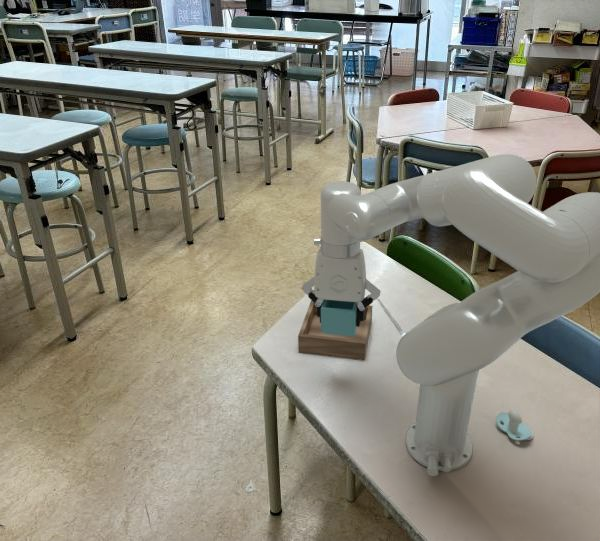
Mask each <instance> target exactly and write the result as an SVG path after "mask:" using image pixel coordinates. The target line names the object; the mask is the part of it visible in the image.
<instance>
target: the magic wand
mask: <svg viewBox="0 0 600 541" xmlns="http://www.w3.org/2000/svg"><path fill="white" fill-rule="evenodd" d="M378 298H379V297H378ZM378 298H377V299H378ZM377 299H376V300H377ZM378 301H379V302H380V303H379V302H378ZM377 302H378V303H379V305H380V304H381V305H380V306H381V308H383V311H384V312H385V313H386V315H387V316H388V317H389V318H390V321H391V322H392V321H393V324H394V326H395V327H396V329H397V330H398V331H399V334H400V335H401V338H402V337H403V336H404V335H405V334H406V333H407V332H406V330H404V329H403V328H402V327H401V326H400V325H399V324H398V322H397V321H396V319H395V318H394V317H393V316H392V315H391V313H390V312H389V309H388V308H387V307H386V306H385V305H384V304H383V303H382V301H381V300H380V298H379V299H378V300H377Z"/></svg>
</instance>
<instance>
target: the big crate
mask: <svg viewBox="0 0 600 541" xmlns="http://www.w3.org/2000/svg"><path fill="white" fill-rule="evenodd" d="M373 308H374V306H373V305H369V306H367V307H366V308H365V309H364V321H361V322H360V326H359V327H357V329H356V334H355V337H354V336H344V335H334V334H324V333H321V323H320V317H317V306H315V303H314V302H313V301H312V300H311V299H310V303H309V305H308V307H307V311H306V313H305V316H304V319H303V321H302V324H301V326H300V329H299V332H298V336H297V340H298V344H297V345H298V347H297V348H298V353H299V354H308V355H317V356H324V357H333V358H340V359H350V360H357V361H366V355H367V350H368V344H369V339H370V333H371V328H372V323H373V322H372V321H373Z"/></svg>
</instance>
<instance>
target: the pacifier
mask: <svg viewBox="0 0 600 541" xmlns="http://www.w3.org/2000/svg"><path fill="white" fill-rule="evenodd" d="M495 422H496V425H497V427H498V428H499V429H500V430H501V431H503V432H504V433H506V434H507V436H508V438H510V439H511V440H513V441H518V442H519V441H531V440H533V439H534V436H535V435H534V432H533V430H532V429H531V427H530V426H529V425H528V424H527V423H525V421H523V419H522V417H521V415H520V414H519V413H518V411H517V410H515V409H514V408H511V409H510V410H509V411H508V412H504V411H503V412H499V413H497V415H496V418H495Z"/></svg>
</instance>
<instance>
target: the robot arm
mask: <svg viewBox="0 0 600 541" xmlns="http://www.w3.org/2000/svg"><path fill="white" fill-rule="evenodd" d="M537 184H538V183H537V176H536V172H535V169H534V168H533V166H532V164H530V162H529V161H527V160H526V158H523V157H521V156H519V155H516V154H510V153H509V154H508V153H507V154H506V153H505V154H497V155H492V156H489V157H486V158H485V157H484V158H481V159H478V160H474V161H470V162H467V163H464V164H463V163H462V164H460V165H456V166H453V167H449V168H445V169H442V170H441V169H440V170H438V171H434V172H433V171H432V172H430V173H426V174H424V175H419V176H415V177H412V178H407V179H405V180H404V179H403V180H401V181H397V182H394V183H390V184H388V185H384V186H383V187H380V188H377V189H375V190H373V191H369V192H368V193H365V194H362V191H361V188H360V187H359V185H357V184H356V183H353V182H350V181H344V180H343V181H333V182H329V183H327V184H325V185H324V186H323V187H322V188H321V190H320V225H321V226H320V229H321V230H320V234H321V235H320V237H317V238H314V241H313V245H314V246H318V247H319V249H318V251H317V253H316V257H315V258H316V259H315V267H314V276H313V277H310V279H308V280H307V281H305V282H304V283H302V285H301V289H302V291H303V292H304V294H305V295H307V296H308V298H309V299H310V301H311V300H312V301H313V302H314V303H315V306H317V317H320V323H321V307H322V304H323V301H324V300H334V301H345V302H355V303H356V305H357V306H358V307H357V314H356V326H357V327H359V326H360V322H361V321H364V309H365V308H366V307H367V306H371V304H372V303H374V301H377V298H379V297H380V296H381V292H382V291H381V289H379V288H378V287H377V286H376V285H375V284H373V283H372V282H371V281H369V280H368V278H367V270H366V261H365V260H366V259H365V255H364V251H363V249H362V248H361V241H368V240H369V241H370V240H371V239H373V238H375V237H378V236H379V235H381V234H383V233H385V232H386V231H387V232H388V231H389V230H391V229H393V228H396V227H397V226H399V225H401V224H404V223H407V222H410V221H414V220H419V219H424V220H425V221H426V222H428V223H429V224H430V225H432V226H435V227H446V226H451V225H452V226H453V227H455V228H456V229H457V230H458V231H459V232H461V233H462V234H463V235H465V236H466V237H467V238H469V239H470V240H471V241H473V242H475V243H476V244H477V245H479V246H480V247H482V248H483V249H485V250H486V251H488V252H490V253H491V254H492V255H494V256H495V257H497V258H498V259H500V260H501V261H503V262H504V263H506V264H508V265H509V266H510V267H511V268H513V269H515V270H516V271H515V272H513V273H512V274H509V275H507V276H506V277H504V278H502V279H500V280H498V281H496V282H493V283H491V284H489V285H486V286H484V287H482V288H480V289H478V290H476V291H474V292H473V293H471V294H470V295H469V296H467V297H465V298H464V299H462V300H461V301H460V302H455V303H451V304H447V305H446V306H443V307H442V308H440V309H438V310H437V311H435V312H434V313H432V314H431V315H429V316H428V317H427V318H425V319H424V320H423V321H421V322H420V323H418V324H416V325H415V326H414V327H413V328H412V329H411V328H410V330H409V331H407V332H405V333H406V334H405V335H404V336H403V337H402V336H401V337H400V339H399V341H398V344H397V347H396V353H395V357H396V364H397V365H398V368H399V369H400V371H401V373H402V374H403V375H404V377H406V378H407V379H408V380H409V381H411V382H413V383H415V384H416V385H419V389H418V391H419V392H418V400H417V408H416V419H415V422H414V423H412V424H411V425H410V426H409V428H408V429H407V431H406V435H405V446H406V450H407V451H408V453H409V455H411V457H412V458H413V459H414V460H415V461H417V462H418V464H421V465H422V466H423V467H426V468H427V470H426V472H427V475H429V476H431V477H437V476H438V475H439V471H441V472H446V473H450V472H451V471H456V470H458V469H461V468H463V467H464V466H465V465H467V464H468V462H469V461H470V460H471V458H472V454H473V448H474V447H473V446H474V445H473V442H472V439H471V437H470V436H469V434H468V429H469V424H470V418H471V412H472V407H473V402H474V395H475V392H476V385H477V382H478V377H479V376H478V375H479V372H480V370H482V369H484V368H485V367H487V366H489V365H491V364H493V363H494V362H495V361H496V360H498V359H499V358H500V357H502V355H504V354H505V353H506V352H507V351H508V350H509V349H510V348H512V346H514V345H515V344H516V343H518V341H520V339H522V338H523V337H524V336H525V335H526V334H528V333H530V332H532V331H533V330H536V329H538V328H539V327H542V326H544V325H546V324H549V323H550V322H552V321H554V320H556V319H559V318H561V317H563V316H565V315H567V314H569V313H571V312H573V311H575V310H577V309H578V308H581V307H582V306H584V305H585V304H587V303H588V302H589V301H591V300H592V299H594V298H595V297H597V295H598V294H600V192H597V191H595V192H594V191H591V192H589V191H586V192H581V193H577V194H574V195H570V196H568V197H566V198H564V199H562V200H560V201H558V202H556V203H555V204H554V205H551V206H550V207H548V208H546V209H545V210H543V211H542V210H540V209H538V208H536V207H535V206H533V205H532V204H529V202H531V200H532V198H533V196H534V195H535V192H536V188H537ZM312 287H313V288H314V289H313V288H312ZM366 291H367V292H369V293H370V294H368V295H366ZM365 295H366V297H365Z"/></svg>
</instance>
